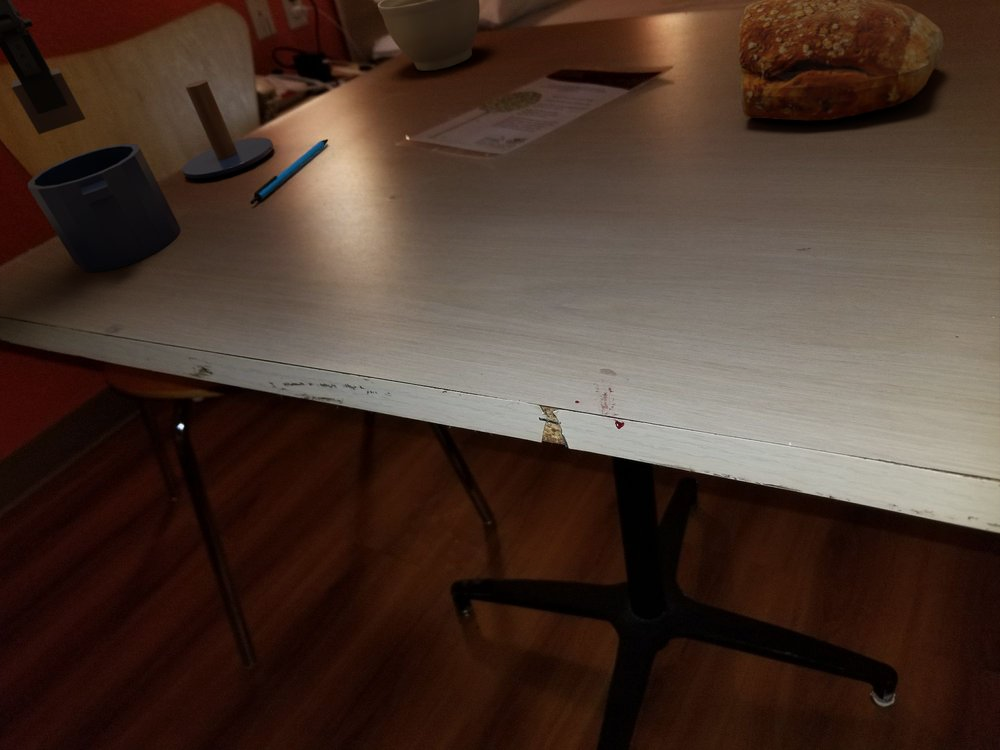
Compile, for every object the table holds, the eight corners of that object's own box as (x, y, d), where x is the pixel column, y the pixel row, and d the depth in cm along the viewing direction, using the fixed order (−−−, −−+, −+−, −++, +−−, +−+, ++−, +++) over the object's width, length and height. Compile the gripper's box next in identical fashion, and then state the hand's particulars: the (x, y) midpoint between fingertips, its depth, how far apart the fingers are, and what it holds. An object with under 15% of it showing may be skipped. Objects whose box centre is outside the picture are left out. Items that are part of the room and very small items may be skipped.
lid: (195, 191, 93) (155, 107, 86) (178, 170, 102) (141, 92, 96) (286, 156, 97) (254, 73, 90) (261, 139, 106) (231, 63, 100)
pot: (83, 292, 73) (29, 205, 68) (72, 243, 86) (26, 167, 80) (193, 248, 77) (150, 162, 71) (167, 207, 90) (128, 132, 84)
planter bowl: (394, 64, 127) (376, -4, 121) (483, 41, 127) (469, -28, 121) (399, 86, 114) (378, 12, 108) (498, 60, 114) (483, -16, 108)
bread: (765, 66, 86) (766, -27, 80) (943, 56, 77) (959, -51, 71) (716, 133, 73) (713, 27, 67) (924, 130, 64) (942, 7, 58)
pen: (249, 206, 83) (245, 197, 83) (325, 143, 97) (323, 134, 97) (256, 206, 83) (252, 197, 82) (331, 142, 97) (328, 134, 96)
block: (38, 134, 71) (11, 87, 68) (37, 126, 74) (11, 81, 71) (85, 119, 72) (60, 72, 69) (82, 112, 75) (58, 67, 73)
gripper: (-70, -215, 53) (98, 105, 67) (-54, -181, 66) (83, 81, 80) (-187, -194, 51) (12, 133, 64) (-146, -163, 64) (12, 104, 77)
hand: (51, 104), depth 72 cm, fingers closed on block, 4 cm apart
